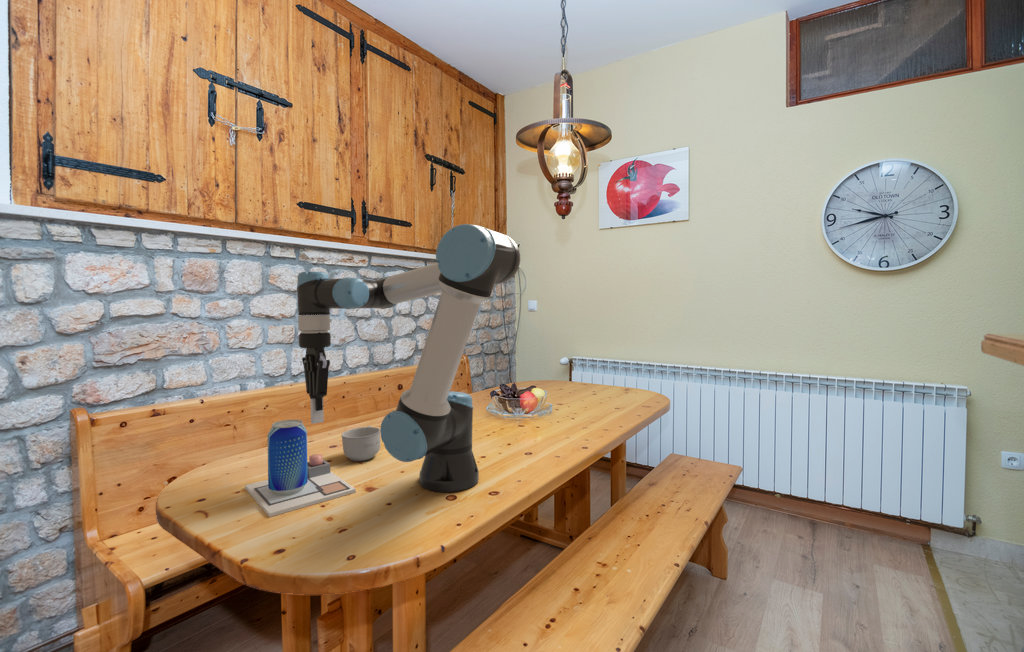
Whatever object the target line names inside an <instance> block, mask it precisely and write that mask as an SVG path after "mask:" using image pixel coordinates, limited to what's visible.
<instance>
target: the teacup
mask: <svg viewBox="0 0 1024 652" xmlns="http://www.w3.org/2000/svg"><path fill="white" fill-rule="evenodd" d="M380 429H381V428H380V427H376V426H372V425H367V426H362V427H354V428H351V429H347V430H345V431H343V432H342V433H341V435H340V436H341V438H342V439H341V441H342V450H343V453H344V456H345V457H346V458H348V459H350V460H351V461H352V462H362V461H367V460H368V461H369V460H371V459H372V458H374V457H375V456H376V455H377V454H378V453H379V451H380V449H381V432H380Z"/></svg>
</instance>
